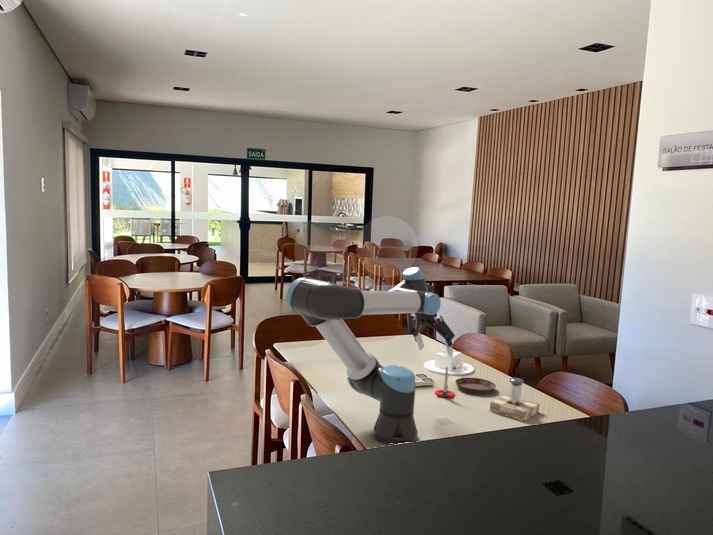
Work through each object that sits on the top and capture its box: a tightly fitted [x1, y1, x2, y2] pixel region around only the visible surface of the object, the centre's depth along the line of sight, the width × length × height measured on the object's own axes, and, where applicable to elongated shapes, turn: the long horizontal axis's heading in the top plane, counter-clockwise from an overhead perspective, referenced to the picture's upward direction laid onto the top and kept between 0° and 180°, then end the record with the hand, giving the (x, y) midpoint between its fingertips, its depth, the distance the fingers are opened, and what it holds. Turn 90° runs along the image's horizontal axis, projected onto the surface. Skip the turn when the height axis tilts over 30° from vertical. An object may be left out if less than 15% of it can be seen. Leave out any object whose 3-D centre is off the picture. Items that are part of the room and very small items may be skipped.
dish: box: [423, 345, 475, 376], centre depth 270 cm, size 25×25×11 cm
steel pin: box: [509, 377, 524, 406], centre depth 212 cm, size 5×5×13 cm
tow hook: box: [434, 367, 456, 399], centre depth 229 cm, size 8×13×9 cm
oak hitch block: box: [489, 394, 540, 421], centre depth 213 cm, size 14×14×4 cm
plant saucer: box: [454, 377, 497, 395], centre depth 239 cm, size 18×18×3 cm
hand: (435, 350), depth 213 cm, fingers open, 13 cm apart
